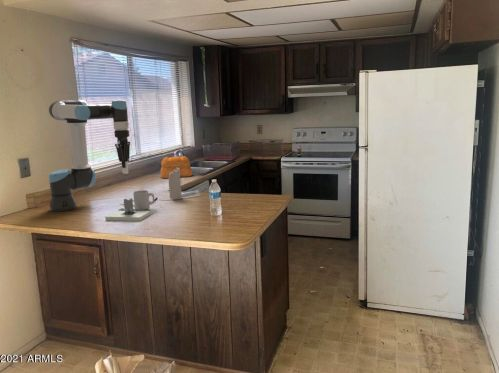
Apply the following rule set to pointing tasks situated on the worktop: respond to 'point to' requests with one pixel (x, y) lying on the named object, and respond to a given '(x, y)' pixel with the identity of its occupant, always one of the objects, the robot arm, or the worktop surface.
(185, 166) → the bread
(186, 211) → the worktop surface
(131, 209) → the grey metal cylinder
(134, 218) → the plate
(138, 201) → the mug
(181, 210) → the worktop surface
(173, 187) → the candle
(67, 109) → the robot arm
